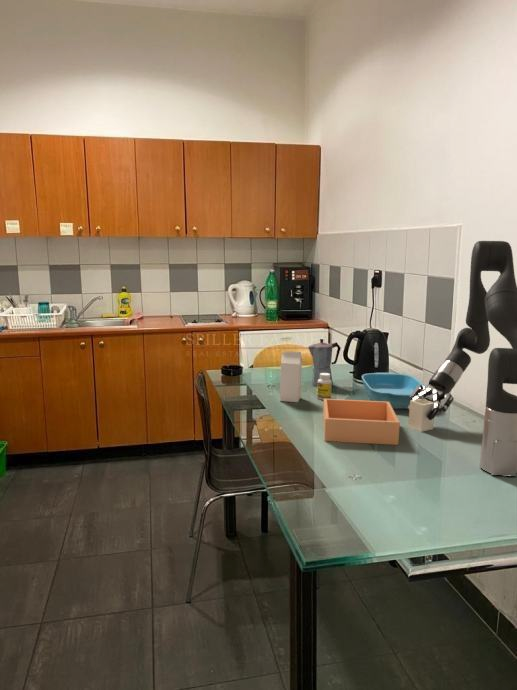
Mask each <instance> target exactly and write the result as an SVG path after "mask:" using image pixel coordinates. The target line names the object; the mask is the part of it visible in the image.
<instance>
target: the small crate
mask: <svg viewBox="0 0 517 690" xmlns="http://www.w3.org/2000/svg"><path fill="white" fill-rule="evenodd" d="M432 408H434V402H431V401H428V400H425V399H417V400H411V401H410V410H409V411H408V424H407V426H408V428H410V429H413V430H415V431H418V432H420V433H422V432H426V431H427V432H428V431H430V430H431V431H432V430H434V424H435V423H434V422H435V417H434V418H433V419H432V420H429V419H428V418H427V414H428V413H429V412H430V410H431V409H432Z"/></svg>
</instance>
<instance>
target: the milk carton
mask: <svg viewBox="0 0 517 690" xmlns="http://www.w3.org/2000/svg"><path fill="white" fill-rule="evenodd" d="M281 352H282V355H281V359H280V376H279V377H280V378H279V381H280V382H279V385H280V386H279V402H290V403H299V401H300V399H301V395H302V393H301V391H302V370H303V369H302V368H303V366H302V364H303V359H302V351H297V350H296V351H294V350H282V351H281Z"/></svg>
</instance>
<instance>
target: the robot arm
mask: <svg viewBox="0 0 517 690" xmlns="http://www.w3.org/2000/svg"><path fill="white" fill-rule="evenodd" d="M470 259H471V260H470V270H469V271H470V275H469V298H468V306H467V310H466V317H465V324H466V326H468V327H464V328H462V329H461V330H459V332H458V334H457V336H456V339H455V342H454V344H453V346H452V350H451V351H450V353H449V354H448V356H447V357H446V358H445V360H444V361H443V362H442V363H441V364H440V365H439V366H438V368H437V369H436V371H435V372H434V373H433V375H432V376H431V377H430V378H429V380H428V384H427V385H424V386H425V387H424V386H422V385H421V384H419V385H418V386H417V387H416V389H415V390H414V391H413V392H412V394H411V395H410V398H411V399H412V400H417V399H425V400H428V401H431V402H434V408H432V409H431V410H430V412H429V413H428V414H427V418H428V419H429V420H432V419H433V418H434V419H435V418H436V416H437V415H438V413H440V412H442V413H446V412H447V410H448V408H449V407H450V406H451V404H452V403H453V401H454V400H455V398H454V396H453V395H452V394H451V392H452V390H453V389H454V388H455V386H456V385H457V383H458V382H459V380H460V379H461V378H462V375H463V373H464V372H465V371H466V370H467V368H468V367H469V365H470V364H471V362H472V358H471V356H470V355H469V353H467V352H466V351H465V350H464V349H466V350H467V351H469V352H472V353H475V354H478V355H482V354H484V353H485V352H487V351H488V350H489V347H490V344H491V336H490V328H489V325H491V326H492V327H493V328H494V329H495V330H496V331H497V332H498V333H499V334H500V335H501V336H502V337H503V338H505V339H506V340H507V342H508V343H509V345H510V347H495V348H493V349H492V350H491V351H490V354H489V357H488V364H487V383H486V399H485V409H484V410H485V411H484V419H483V428H482V437H481V438H482V439H481V440H482V441H481V448H480V458H479V468H480V467H481V468H482V469H483V470H485V471H487V472H489V473H491V474H492V475H511V476H516V477H517V474H516V473H517V395H515V394H513V393H510V392H508V391H507V390H505V389H504V384H507V385H509V384H510V385H517V280H516V276H515V268H514V257H513V249H512V246H511V244H510V243H509V241H505V240H479V241H476V242H475V243H474V245H473V247H472V251H471V258H470ZM482 272H499V274H500V275H499V276H498V278H497V279H496V281H494V283H493V284H492V285H491V286H490V288H489V290H488V291H487V290H486V288H485V287H484V286H485V285H484V283H483V281H482ZM489 323H490V324H489ZM415 394H416V395H415ZM423 395H424V398H423V397H422V396H423ZM414 396H415V397H414ZM409 410H410V405H409V406H408V409H407V411H408V412H409ZM481 468H480V469H481ZM482 469H481V470H482ZM483 470H482V471H483ZM485 471H484V472H485ZM487 472H486V473H487ZM489 473H488V474H489ZM491 474H490V475H491ZM492 475H491V476H492Z"/></svg>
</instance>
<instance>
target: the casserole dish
mask: <svg viewBox="0 0 517 690" xmlns="http://www.w3.org/2000/svg"><path fill="white" fill-rule="evenodd" d="M361 380H362V383H363V387H364V390H365V392H366V393H367V395H368V397H369V398H370V399H371V401H385V402H389V403H390V404H391V406H392V408H393V409H398V410H399V409H400V410H401V409H403V410H404V409H405V410H408V406H409V405H410V401H411V400H412V399H411V398H410V395H411V394H412V392H413V391H414V390H415V389H416V387H417V386H418V385H419V384H421V385H422V386H424V387H426V385H424V384H423V383H422V382H421V381H420V380H419V379H418V378H417V377H415V376H413V375H410V374H404V373H394V372H372V373H371V372H370V373H364V374H362V375H361ZM372 388H375V389H372ZM376 388H379V389H376ZM415 395H416V394H415ZM414 397H415V396H414ZM422 397H423V398H424V395H423V396H422Z"/></svg>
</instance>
